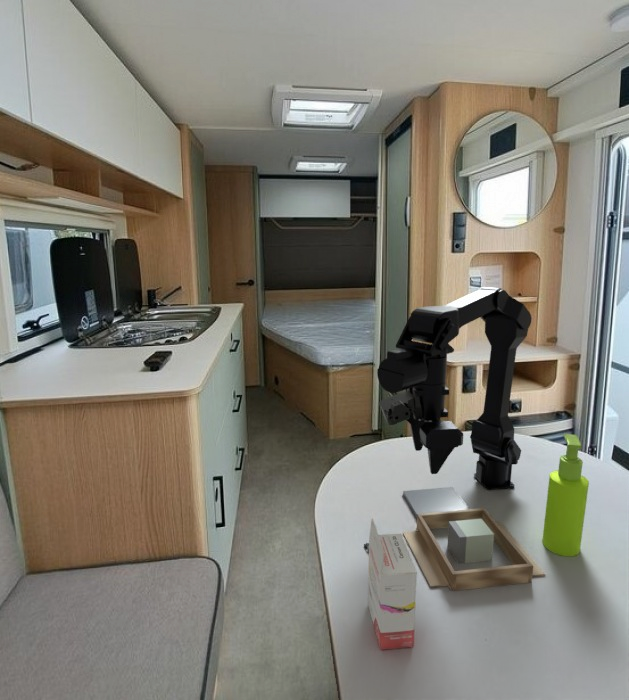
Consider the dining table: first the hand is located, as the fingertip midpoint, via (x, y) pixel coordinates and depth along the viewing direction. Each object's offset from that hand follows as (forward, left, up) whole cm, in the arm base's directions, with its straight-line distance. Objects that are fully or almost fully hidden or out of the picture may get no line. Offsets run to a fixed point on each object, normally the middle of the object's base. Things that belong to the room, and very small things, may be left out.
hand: (425, 461), depth 86 cm
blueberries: (+10, +6, -14) cm, 18 cm away
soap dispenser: (-22, +9, -14) cm, 27 cm away
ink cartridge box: (+13, +22, -14) cm, 29 cm away
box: (-5, +9, -13) cm, 17 cm away
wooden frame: (-5, +9, -13) cm, 17 cm away
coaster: (-5, -6, -13) cm, 15 cm away
